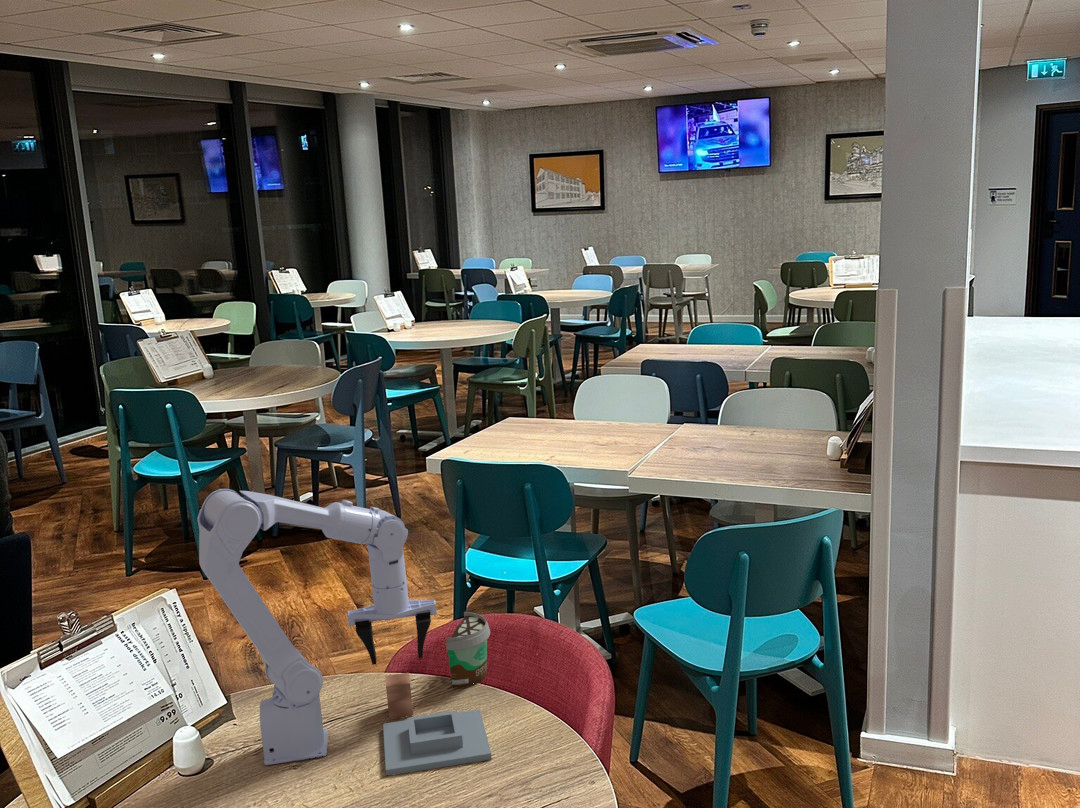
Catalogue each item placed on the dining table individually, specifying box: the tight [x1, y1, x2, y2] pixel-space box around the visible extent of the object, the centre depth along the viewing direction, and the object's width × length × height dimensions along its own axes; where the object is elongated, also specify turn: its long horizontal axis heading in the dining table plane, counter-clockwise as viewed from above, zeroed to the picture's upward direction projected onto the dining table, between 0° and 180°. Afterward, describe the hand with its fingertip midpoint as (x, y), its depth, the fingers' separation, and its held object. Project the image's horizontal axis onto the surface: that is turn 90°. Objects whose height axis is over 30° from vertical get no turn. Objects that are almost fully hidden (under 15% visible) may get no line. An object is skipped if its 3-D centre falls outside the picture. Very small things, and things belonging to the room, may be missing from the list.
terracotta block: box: [384, 672, 414, 720], centre depth 162 cm, size 4×4×6 cm
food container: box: [445, 611, 491, 689], centre depth 172 cm, size 12×6×10 cm, turn 168°
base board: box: [382, 709, 493, 776], centre depth 151 cm, size 16×14×3 cm
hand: (397, 658), depth 160 cm, fingers open, 7 cm apart
